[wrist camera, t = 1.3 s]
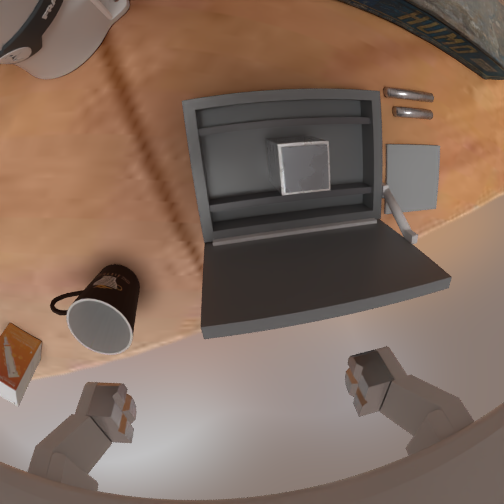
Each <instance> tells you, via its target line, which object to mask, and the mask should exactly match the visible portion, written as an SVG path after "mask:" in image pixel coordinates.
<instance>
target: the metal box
mask: <svg viewBox="0 0 504 504" xmlns="http://www.w3.org/2000/svg"><path fill="white" fill-rule="evenodd" d="M339 1H342V2H344V3H347V4H349V5H352V6H354V7H357V8H360V9H362V10H365V11H367V12H370V13H372V14H375V15H377V16H379V17H381V18H384V19H386V20H388V21H390V22H393V23H395V24H397V25H399V26H401V27H403V28H404V29H406V30H408V31H410V32H411V33H413V34H415V35H417V36H419V37H421V38H422V39H424V40H426V41H428V42H430V43H432V44H433V45H435V46H436V47H438V48H440V49H441V50H443V51H444V52H446V53H447V54H449V55H450V56H452V57H453V58H455V59H456V60H458V61H459V62H461V63H462V64H464V65H465V66H466V67H468V68H469V69H471V70H473V71H474V72H475V73H477V74H478V75H480V76H481V77H482V78H484V79H495V80H504V0H339Z"/></svg>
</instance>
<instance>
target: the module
mask: <svg viewBox="0 0 504 504" xmlns="http://www.w3.org/2000/svg"><path fill="white" fill-rule="evenodd" d="M265 140H266V150H267V160H268V171H269V180H270V182H271V183H272V184H273V185H274V186H275V188H276V189H277V190H278V191H279V192H280V194H281V195H290V194H299V193H308V192H318V191H327V190H330V160H329V141H327V140H323V139H319V138H315V137H311V136H293V137H280V138H269V139H265Z"/></svg>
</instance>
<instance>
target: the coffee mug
mask: <svg viewBox="0 0 504 504" xmlns="http://www.w3.org/2000/svg"><path fill="white" fill-rule="evenodd" d="M139 288H140V286H139V281H138V279H137V277H136V275H135V274H134V273H133V272H132V271H131V270H130V269H128V268H127V267H124V266H122V265H116V264H114V265H109V266H106V267H105V268H104V269H103V270H102V271H101V272H100V273H99V274H98V275H97V276H96V277H95V278H94V280H93V281H92V282H91V283H90V284H89V285H88V286H87V287H86V288H85V290H83V291H76V292H71V293H66V294H63V295H60V296H58V297H56V298H54V299H53V300H52V301H51V304H50V307H51V310H52V311H53V312H54V313H56V314H58V315H67V316H66V318H67V324H68V327H69V329H70V331H71V333H72V334H73V336H74V337H75V338H76V339H77V340H78V341H79V342H80V343H81V344H82V345H83V346H85V347H86V348H88V349H90V350H92V351H94V352H97V353H100V354H106V355H115V354H120V353H122V352H124V351H125V350H127V349H128V348H129V346H130V345H131V343H132V340H133V331H134V323H135V316H136V309H137V302H138V295H139ZM77 295H79V296H78V298H77V299H76V300H75V301H74V302H73V303H72V305H71V306H70V307H69V309H68V310H58V309H56V308H55V307H54V305H55V303H56V302H57V301H59V300H62V299H64V298H67V297H72V296H77Z"/></svg>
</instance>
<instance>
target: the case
mask: <svg viewBox="0 0 504 504" xmlns="http://www.w3.org/2000/svg"><path fill="white" fill-rule="evenodd" d="M182 105H183V113H184V120H185V128H186V135H187V142H188V148H189V155H190V162H191V168H192V174H193V181H194V187H195V193H196V199H197V204H198V210H199V216H200V222H201V227H202V233H203V238H204V243H205V247H204V264H203V283H202V306H201V330H202V333H203V337H204V339H209V338H217V337H225V336H232V335H238V334H245V333H252V332H258V331H265V330H270V329H277V328H282V327H288V326H294V325H299V324H304V323H309V322H315V321H319V320H324V319H329V318H334V317H339V316H343V315H348V314H352V313H357V312H361V311H365V310H369V309H374V308H378V307H382V306H386V305H390V304H394V303H398V302H401V301H405V300H409V299H413V298H416V297H420V296H423V295H427V294H430V293H433V292H437V291H440V290H444V289H447V288H449V285H450V281H451V276H450V275H449V274H448V273H446V272H445V271H444V270H443V269H442V268H440V267H439V266H438V265H437V264H436V263H435V262H433V261H432V260H431V259H430V258H429V257H427V256H426V255H425V254H424V253H422V252H421V251H420V250H419V249H418V248H416V247H415V246H414V245H413V244H415V243H417V238H418V234H416V233H415V232H413V231H412V230H411V228H410V226H409V224H408V222H407V220H406V218H405V216H404V215H403V213H402V211H401V209H400V207H399V205H398V203H397V202H396V200H395V198H394V196H393V195H392V193H391V191H390V189H389V185H387V184H385V183H383V182H382V120H381V102H380V91H371V90H354V89H283V90H266V91H253V92H242V93H233V94H224V95H217V96H209V97H203V98H196V99H190V100H184V101H182ZM293 136H311V137H315V138H319V139H323V140H327V141H329V160H330V190H327V191H318V192H308V193H299V194H290V195H281V194H280V192H279V191H278V190H277V189H276V188H275V186H274V185H273V184H272V183H271V182H270V180H269V171H268V160H267V150H266V140H265V139H269V138H280V137H293ZM382 198H384V199H385V201H386V203H387V205H388V206H389V208H390V210H391V212H392V214H393V216H394V218H395V220H396V222H397V224H398V226H399V228H400V230H401V232H402V234H403V236H404V237H402V236H401V235H400V234H398V233H397V232H396V231H394V230H393V229H392V228H390V227H389V226H388V225H386V224H385V223H384V222H382V221H381V220H380V219H381V200H382Z"/></svg>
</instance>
